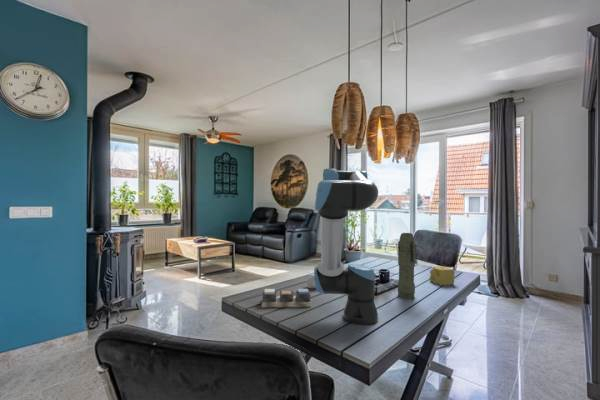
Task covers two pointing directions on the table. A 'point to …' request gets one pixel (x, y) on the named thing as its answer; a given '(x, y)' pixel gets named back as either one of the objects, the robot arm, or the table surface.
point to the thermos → (406, 266)
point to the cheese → (442, 275)
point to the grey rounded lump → (311, 281)
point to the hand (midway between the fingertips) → (329, 239)
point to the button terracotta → (286, 292)
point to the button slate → (303, 291)
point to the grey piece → (286, 300)
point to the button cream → (269, 291)
